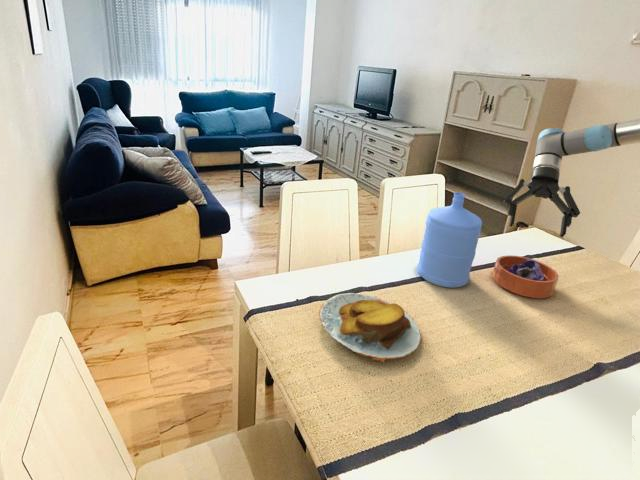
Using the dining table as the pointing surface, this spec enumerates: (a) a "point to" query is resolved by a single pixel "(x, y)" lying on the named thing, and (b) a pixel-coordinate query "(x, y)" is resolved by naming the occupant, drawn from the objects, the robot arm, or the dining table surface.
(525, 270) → the flower
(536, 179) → the robot arm
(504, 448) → the dining table surface
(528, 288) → the pot
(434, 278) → the water jug
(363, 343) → the food on plate
